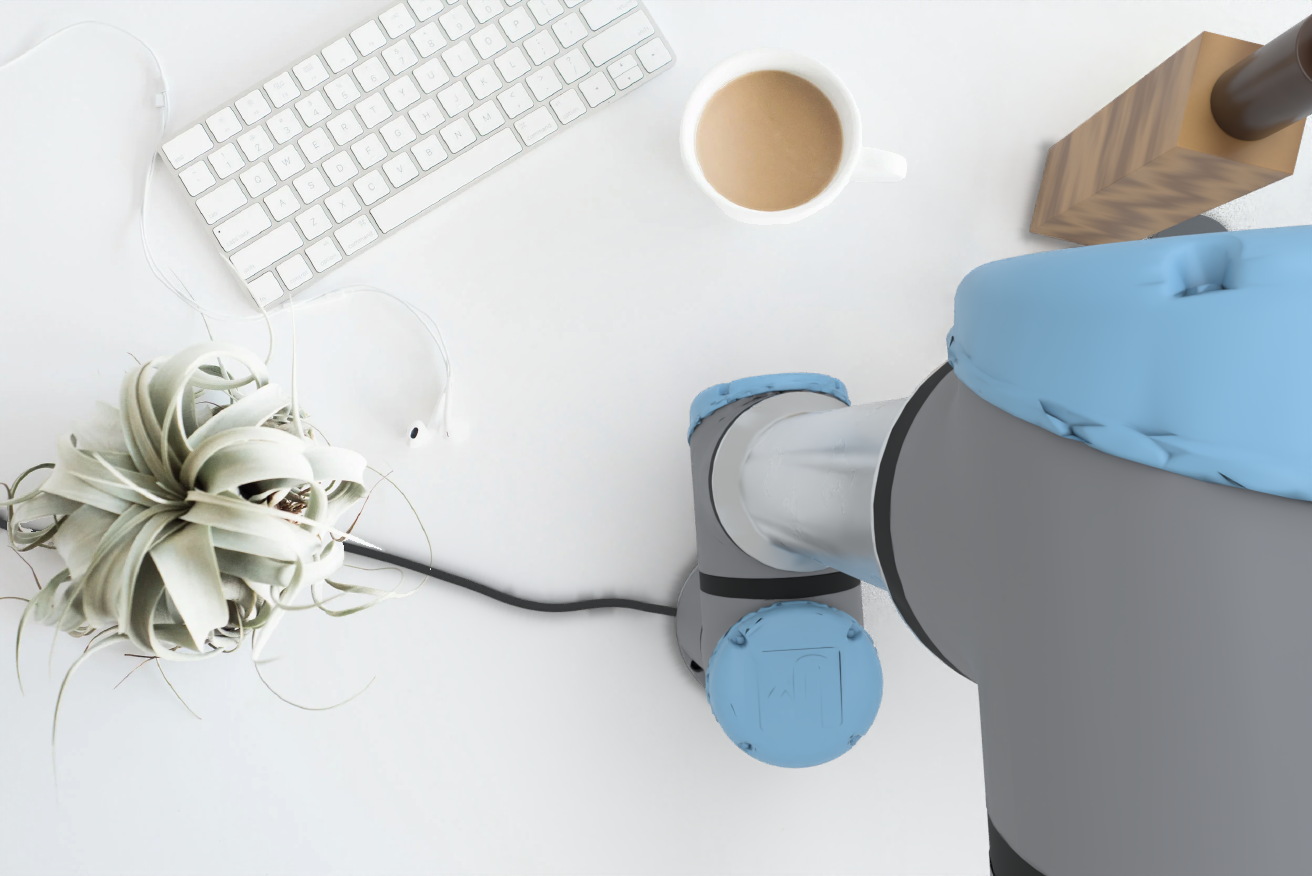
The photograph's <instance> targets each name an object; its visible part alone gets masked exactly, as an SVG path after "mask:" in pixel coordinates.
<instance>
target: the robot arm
mask: <svg viewBox="0 0 1312 876" xmlns="http://www.w3.org/2000/svg"><path fill="white" fill-rule="evenodd" d="M953 300H954V301H953V307H954V308H953V325H952V326H951V328H950V329H949V331H948V332H947V334H946V338H945V339H946V350H947V351H946V353H947V359H946V360H945V361H944V362H943V363H941V364H940V365H938V366H937V367H936V368H934V369H933V370H932V371H931V372H930V373H929V374H928V375H927V376H926V377H925V378H924V379H923V380H922V381H921V382H919V384H918V385H917V386H916V387H915V388H914V390H913V391H912V392H911V393H910V394H909V396H908V397H901V398H895V399H888V400H882V401H875V402H869V403H863V404H857V405H852V402H851V400H850V398H849V397H850V396H849V393H848V388H847V387H846V385H845V384H844V382H843V381H842V380H840V379H839V378H837V377H833V376H830V375H828V374H823V373H819V372H818V373H817V372H780V373H768V374H761V375H760V374H759V375H754V376H747V377H742V378H738V379H734V380H731V382H726V383H725V382H724V383H722V382H721V383H717V384H715V385H712V386H709V387H707V388H705V389H704V390H702V391H701V392H699V393H698V394H697V395H696V396H695V397H694V399H693V400H692V402H691V404H690V409H689V427H688V429H687V435H686V438H687V443H688V446H689V451H690V452H689V453H690V465H691V480H692V481H691V482H692V494H693V507H694V508H693V510H694V524H695V536H696V537H695V538H696V551H697V564H696V565H695V567H694V568H693V569H692V570H691V572H690V573H689V574H688V576H687V578H686V580H685V581H684V583H683V585H682V588H681V590H680V592H679V596H678V598H677V603H676V607H674V606H673V607H672V606H669V605H668V606H667V605H660V604H654V603H648V602H644V601H639V600H635V599H629V598H626V599H625V598H598V599H590V600H582V601H573V602H565V603H564V602H562V603H561V602H560V603H559V602H558V603H550V602H549V603H547V602H538V601H533V600H529V599H528V600H527V599H523V598H519V597H516V596H512V595H509V594H507V593H504V592H502V591H499V590H496V589H494V588H492V587H489V586H486V585H484V584H481V583H478V582H476V581H473V580H470V579H468V578H464V577H462V576H459V575H455V574H452V573H450V572H447V571H445V570H441V569H437V568H434V567H431V566H429V565H426V564H423V563H420V562H416V561H413V560H410V559H407V558H404V557H401V556H397V555H395V554H391V553H387V552H384V551H380V550H376V549H373V548H369V547H364V546H362V545H358V544H353V543H349V542H345V541H342V542H343V545H344V551H343V552H347V553H350V554H354V555H357V556H362V557H366V558H370V559H373V560H377V561H381V562H385V563H388V564H392V565H395V566H398V567H402V568H405V569H408V570H411V571H413V572H417V573H419V574H423V575H426V576H429V577H432V578H435V579H437V580H439V581H443V582H447V583H449V584H453V585H456V586H459V587H462V588H464V589H467V590H471V591H473V592H476V593H479V594H481V595H483V596H486V597H488V598H490V599H494V600H496V601H498V602H500V603H504V604H506V605H509V606H514V607H517V608H521V609H525V610H529V611H535V612H544V613H566V612H567V613H568V612H569V613H570V612H576V611H585V610H592V609H593V610H594V609H603V608H623V609H631V610H636V611H642V612H647V613H652V614H657V615H663V616H670V617H674V618H675V633H676V634H675V635H676V640H677V644H678V647H679V652H680V655H681V657H682V659H683V661H684V663H685V665H686V667H687V670H688V671H689V672H690V673H691V675H692V676H693V677H694V679H696V681H697V683H699V684H700V685H701V686H702V687H703V688H704V689H705V696H706V700H707V703H708V704H709V706H710V710H711V715H713V716H714V718H715V720H716V722H717V723H718V725H719V726H720V728H721V729H722V731H723V732H724V734H725V735H726V736H727V738H728V739H729V740H730V741H731V742H732V743H733V744H734V745H735V746H736V747H738V749H739V750H741V751H742V752H743V753H745V754H746V755H748V756H749V757H751V758H753V759H754V760H757V761H758V762H761V763H764V764H766V765H769V766H772V767H773V766H774V767H778V768H784V769H785V768H786V769H807V768H812V767H817V766H821V765H824V764H826V763H830V762H831V761H834V760H836V759H838V758H839V757H842V756H843V755H844V754H846V753H847V752H849V751H851V750H852V749H853V747H854V746H856V745H857V743H858V742H859V740H861V738H862V737H864V736H866V735H867V733H868V732H869V730H870V729H871V727H872V726H873V724H874V722H875V720H876V717H877V716H878V713H879V710H880V708H881V703H882V700H883V693H884V674H883V668H882V664H881V659H880V658H879V654H878V649H877V647H876V646H875V645H874V640H873V638H872V636H871V635H870V633H869V632H868V631H866V629H865V621H864V609H863V594H862V592H863V591H862V582H864V583H866V584H869V585H871V586H873V587H875V588H878V589H881V590H882V591H885V592H887V594H888V595H889V598H890V600H891V602H892V604H893V606H894V608H895V610H896V611H897V613H898V615H899V617H900V619H901V620H902V621H903V623H904V624H905V625H906V627H907V628H908V629H909V630H910V632H911V634H913V636H914V637H915V639H917V641H918V642H919V643H920V644H922V646H923V647H924V648H925V649H927V650H928V651H929V652H930V653H931V654H932V655H933V656H934V657H935V658H936V659H938V661H940V662H941V663H943V664H944V665H945V666H947V667H948V668H950V669H951V670H953V671H954V672H955V673H957V674H958V675H960V676H961V677H963V678H965V679H967V680H969V681H970V682H972V683H974V684H975V685H977V690H978V691H977V692H978V693H977V694H978V705H979V720H980V734H981V735H980V736H981V749H982V751H981V752H982V764H983V765H982V766H983V779H984V793H985V794H984V795H985V808H986V816H987V817H986V818H987V830H988V845H989V849H988V861H989V862H988V864H989V876H1312V224H1303V225H1302V224H1301V225H1288V226H1278V227H1277V226H1275V227H1264V228H1249V229H1240V230H1228V231H1227V232H1216V233H1204V234H1193V235H1183V236H1172V237H1163V238H1154V239H1151V238H1144V239H1142V240H1135V241H1126V242H1117V243H1108V244H1099V245H1091V246H1086V245H1083V246H1079V247H1078V246H1077V247H1070V248H1069V247H1068V248H1062V249H1054V250H1047V251H1039V252H1034V253H1027V254H1021V255H1017V256H1011V257H1005V258H1002V259H997V260H994V261H993V260H992V261H989V262H986V263H983V264H981V265H979V266H976V267H975V268H973V269H971V270H970V271H969V272H968V273H967V274H965V276H964V277H963V278H962V279H961V280H960V283H959V284H958V285H957V288H956V290H955V294H954V298H953ZM7 521H8V520H6V519H4V518H2V517H0V529H2V530H4V531H7ZM29 528H30V527H29ZM30 529H32V530H33V531H31V532H36V531H40V529H36V528H35V529H34V528H30ZM430 568H431V570H430Z"/></svg>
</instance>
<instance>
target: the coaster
mask: <svg viewBox="0 0 1312 876" xmlns="http://www.w3.org/2000/svg"><path fill="white" fill-rule="evenodd" d="M1227 231H1229V230H1228V229H1227V228H1226V226H1224V225H1223V224H1222V223H1220V222H1219V221H1217V220H1216V219H1214V218H1212V217H1210V216H1206V215H1203V214H1200V215H1198V216H1195V217H1193V218H1191V219H1188V220H1186V221H1184V222H1181V223H1179V224H1177V225H1174V226H1172V227H1170V228H1167V229H1165V230H1163V231H1160V232H1158V233H1156V234H1153V235H1152V236H1151V238H1150V239H1154V238H1163V237H1172V236H1183V235H1193V234H1204V233H1216V232H1227Z"/></svg>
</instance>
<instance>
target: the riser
mask: <svg viewBox="0 0 1312 876" xmlns="http://www.w3.org/2000/svg"><path fill="white" fill-rule="evenodd" d="M1264 45H1265V44H1261V43H1258V42H1254V41H1253V42H1252V41H1248V40H1244V39H1241V38H1236V37H1231V36H1227V35H1224V34H1220V33H1216V32H1211V31H1206V30H1203V31H1202V32H1200V33H1199V34H1198V35H1197V36H1196V37H1194V38H1192V39H1191V40H1190V41H1189V42H1187V43H1186V44H1185V45H1183V46H1182V47H1181V48H1180V49H1178V50H1176V52H1174V53H1172V55H1170V56H1169V57H1168V58H1166V59H1165V60H1163V61H1162V62H1161V63H1160V64H1159V65H1157V66H1156V67H1155V68H1153V69H1151V71H1149V72H1148V73H1146V74H1145V75H1144V76H1143V77H1142V78H1140V79H1139V80H1138V81H1136V82H1135V83H1134V84H1132V85H1131V86H1130V87H1128V88H1127V89H1126V90H1124V91H1123V92H1122V93H1121V94H1119V95H1118V96H1117V97H1115V98H1113V99H1112V100H1111V101H1110V102H1109V103H1107V104H1106V105H1104V106H1103V107H1102V108H1100V109H1099V110H1098V111H1097V112H1095V113H1094V114H1093V115H1092V116H1090V117H1089V118H1087V120H1085V121H1084V122H1082V123H1081V124H1080V125H1078V126H1077V127H1075V128H1074V129H1073V130H1072V131H1071V132H1069V133H1067V135H1065V136H1064V137H1062V138H1061V139H1060V140H1059V141H1057V142H1056V143H1055V144H1053V145H1052V146H1051V147H1050V148H1048V152H1047V156H1046V161H1045V165H1044V168H1043V173H1042V177H1041V182H1040V185H1039V188H1038V189H1039V190H1038V194H1037V198H1036V203H1035V207H1034V211H1033V214H1032V218H1031V223H1030V227H1029V232H1030V233H1033V234H1037V235H1040V236H1041V235H1042V236H1045V237H1050V238H1053V239H1057V240H1061V241H1067V242H1070V243H1074V244H1078V245H1083V246H1091V245H1099V244H1108V243H1117V242H1126V241H1135V240H1144V239H1147V238H1148V237H1152V236H1153V235H1154V234H1156V233H1158V232H1160V231H1163V230H1165V229H1167V228H1170V227H1172V226H1174V225H1177V224H1179V223H1181V222H1184V221H1186V220H1188V219H1191V218H1193V217H1195V216H1198V215H1203V214H1204V213H1207V212H1209V211H1211V210H1214V209H1216V208H1219V207H1221V206H1224V205H1225V204H1228V203H1230V202H1233V201H1235V200H1237V199H1239V198H1242V197H1244V196H1246V195H1249V194H1251V193H1254V192H1256V191H1259V190H1261V189H1263V188H1265V187H1267V186H1270V185H1272V184H1275V183H1277V182H1279V181H1281V180H1284V179H1286V178H1289V177H1291V176H1293V175H1294V173H1295V169H1296V164H1297V160H1298V157H1299V151H1300V149H1301V148H1300V147H1301V143H1302V140H1303V136H1304V131H1305V126H1306V122H1307V118H1308V116H1307V117H1305V118H1303V119H1301V120H1299V121H1297V122H1295V123H1294V124H1292V125H1290V126H1288V127H1286V128H1284V129H1282V130H1280V131H1278V132H1276V133H1274V134H1272V135H1270V136H1268V137H1266V138H1263V139H1260V140H1255V141H1245V140H1240V139H1236V138H1234V137H1232V136H1230V135H1228V134H1227V133H1225V132H1224V131H1223V130H1222V129H1221V128H1220V127H1219V125H1218V124H1217V123H1216V121H1215V119H1214V117H1213V114H1212V111H1211V93H1212V90H1213V87H1214V85H1215V83H1216V81H1217V80H1218V78H1219V77H1220V76H1221V75H1222V74H1223V73H1224V72H1225V71H1227V70H1228V69H1229V68H1231V67H1233V66H1234V65H1236V64H1237V63H1239V62H1240V61H1242V60H1243V59H1245V58H1246V57H1248V56H1249V55H1251V54H1252V53H1254V52H1255V51H1257V50H1258V49H1260V48H1261V47H1263V46H1264Z"/></svg>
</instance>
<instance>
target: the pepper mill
mask: <svg viewBox="0 0 1312 876" xmlns="http://www.w3.org/2000/svg"><path fill="white" fill-rule="evenodd" d="M1263 45H1264V46H1263V47H1261V48H1260V49H1258V50H1257V51H1255V52H1254V53H1252V54H1251V55H1249V56H1248V57H1246V58H1245V59H1243V60H1242V61H1240V62H1239V63H1237V64H1236V65H1234V66H1233V67H1231V68H1229V69H1228V70H1227V71H1225V72H1224V73H1223V74H1222V75H1221V76H1220V77H1219V78H1218V80H1217V81H1216V83H1215V85H1214V87H1213V90H1212V93H1211V111H1212V114H1213V117H1214V119H1215V121H1216V123H1217V124H1218V125H1219V127H1220V128H1221V129H1222V130H1223V131H1224V132H1225V133H1227V134H1228V135H1230V136H1232V137H1234V138H1236V139H1240V140H1245V141H1255V140H1260V139H1263V138H1266V137H1268V136H1270V135H1272V134H1274V133H1276V132H1278V131H1280V130H1282V129H1284V128H1286V127H1288V126H1290V125H1292V124H1294V123H1295V122H1297V121H1299V120H1301V119H1303V118H1305V117H1307V118H1308V117H1309V116H1311V115H1312V13H1311V14H1309V15H1308V16H1306V17H1305V18H1304V19H1302V20H1301V21H1299V22H1297V23H1296V24H1294V25H1293V26H1291V27H1290V28H1288V29H1287V30H1285V31H1284V32H1282V33H1281V34H1279V35H1278V36H1276V37H1275V38H1273V39H1272V40H1270V41H1269V42H1267V43H1266V44H1263Z"/></svg>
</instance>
